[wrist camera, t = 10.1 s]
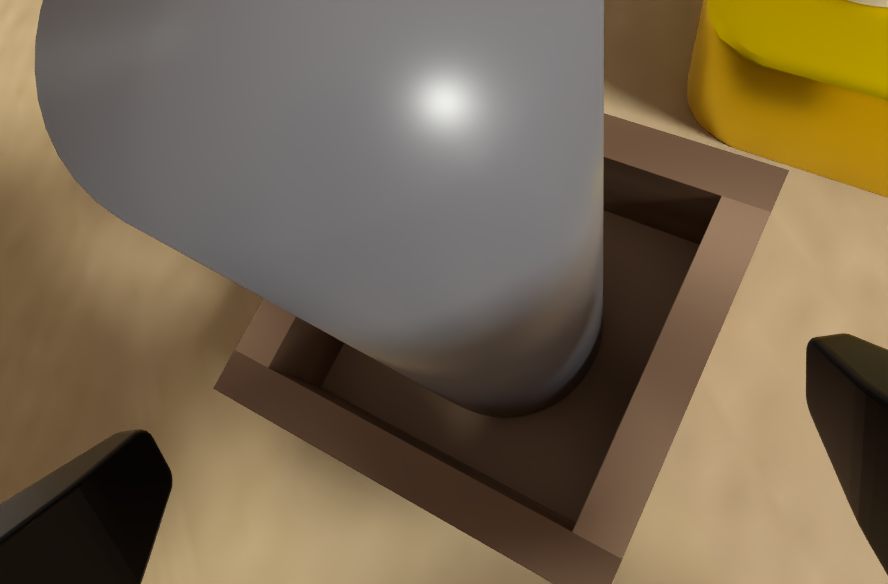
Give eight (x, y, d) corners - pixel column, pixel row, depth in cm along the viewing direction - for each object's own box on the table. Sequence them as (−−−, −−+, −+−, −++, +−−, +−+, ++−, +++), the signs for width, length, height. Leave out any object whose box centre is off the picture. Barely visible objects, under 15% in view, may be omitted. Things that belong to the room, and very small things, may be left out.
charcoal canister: (487, 458, 16) (191, 391, 5) (377, 309, 18) (-38, -16, 6) (645, 333, 16) (759, -60, 4) (520, 195, 18) (366, -341, 6)
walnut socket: (601, 581, 16) (599, 610, 12) (290, 408, 19) (213, 388, 15) (749, 239, 17) (788, 170, 14) (438, 130, 20) (401, 50, 17)
